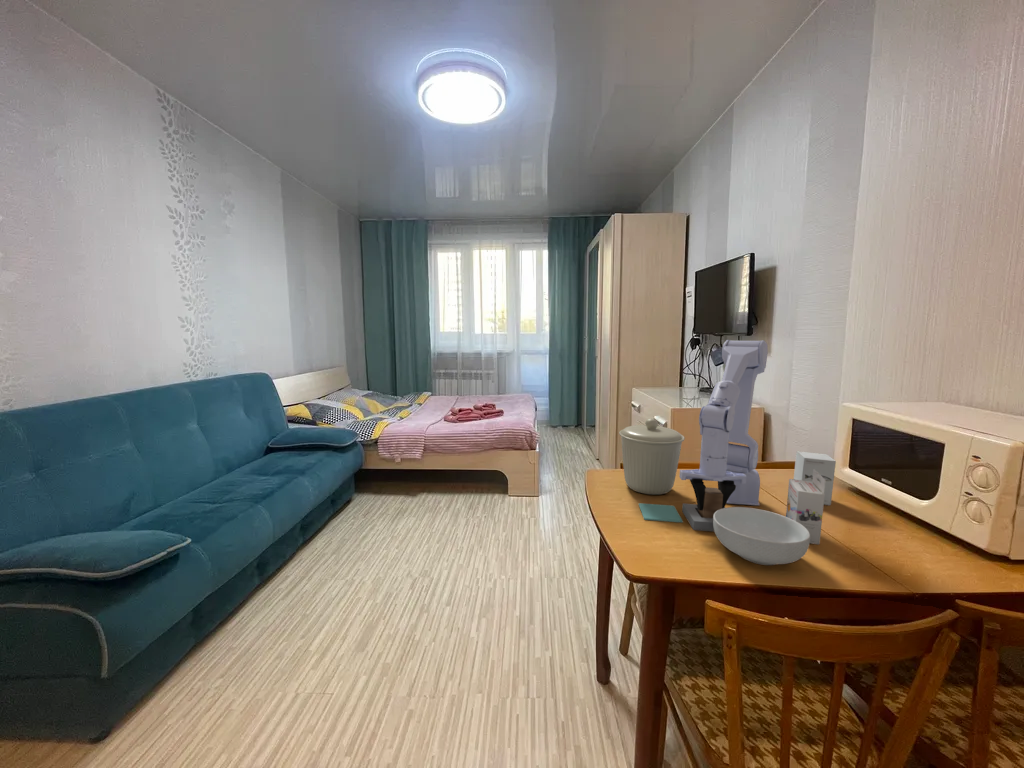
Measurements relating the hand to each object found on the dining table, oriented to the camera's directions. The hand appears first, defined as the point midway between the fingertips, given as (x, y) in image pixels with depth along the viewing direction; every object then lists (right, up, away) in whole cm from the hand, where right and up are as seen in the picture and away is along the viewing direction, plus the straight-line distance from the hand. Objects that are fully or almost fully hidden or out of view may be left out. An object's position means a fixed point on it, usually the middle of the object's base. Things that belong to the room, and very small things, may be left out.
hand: (709, 509), depth 98 cm
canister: (-8, -1, +22) cm, 23 cm away
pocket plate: (0, -3, 0) cm, 3 cm away
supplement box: (+36, -2, +15) cm, 39 cm away
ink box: (+18, -4, -5) cm, 20 cm away
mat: (-10, -3, +5) cm, 12 cm away
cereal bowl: (+3, -5, -14) cm, 15 cm away
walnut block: (0, -3, 0) cm, 3 cm away
